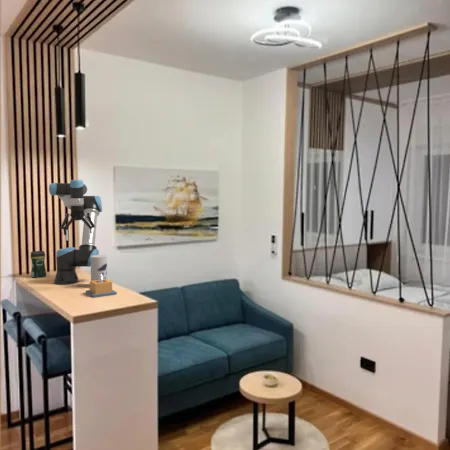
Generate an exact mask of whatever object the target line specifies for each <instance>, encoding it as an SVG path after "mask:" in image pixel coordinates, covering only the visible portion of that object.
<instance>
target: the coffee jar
mask: <svg viewBox="0 0 450 450" xmlns="http://www.w3.org/2000/svg"><path fill="white" fill-rule="evenodd" d="M45 252H46V251H44V250H37V251H36V250H35V251H31V252H30V259H31V272H30V273H31V274H30V275H31V278H44V277H47V272H46V271H47V270H46V264H45V259H46V253H45Z"/></svg>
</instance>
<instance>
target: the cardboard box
mask: <svg viewBox="0 0 450 450" xmlns="http://www.w3.org/2000/svg"><path fill="white" fill-rule="evenodd" d="M103 281H104V282H102V283H98V280H94V281H91V280H90V281H89V290H90V291H91V292H93V293H95V294H100V293H107V292H112V290H113V281H111V280H109V279H108V278H107V279H103Z"/></svg>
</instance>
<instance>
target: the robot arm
mask: <svg viewBox="0 0 450 450" xmlns="http://www.w3.org/2000/svg"><path fill="white" fill-rule="evenodd" d="M87 191H88V186H87V185H86V184H84V180H82V179H71V180H70V182H69V183H67V182H66V183H65V182H64V183H63V182H51V183H50V184H49V186H48V193H49V194H50V196H57V197H58V198H59V199H60V200H61V201H62V202H63V205H64V206H65V207H66V208H68V209H69V210H70V213H68V212H67V213H65V215H64V216H65V217H64V219H63V221H62V223H61V225H60V229H62V230H63V235H64V236H65V241H67V242H68V241H69V229H68V228H69V226H70V225H72V223H73V222H74V221H82V222H83V225H82V229H83V230H82V235H81V237H82V238H81V244H80V245H79V246H78V249H75V247H73V246H71V247H64V248H63V247H62V248H60V249H57V251H56V256H55V258H56V272H55V273H56V274H55V276H54V284H55V285H72V284H73V285H74V284H77V283H79V277H78V273H77V271H76V268H79V267H81V268H83V267H88V268H91V256H93V255H100V252H99V250H100V249H97V248H98V247H97V246H96V236H97V235H96V234H97V222H98V216H99V215H100V213H103V205H102V204H103V203H102V198H101V196H99V195H85V194H86V193H87ZM69 218H70V219H69ZM68 219H69V221H68ZM67 221H68V222H67Z"/></svg>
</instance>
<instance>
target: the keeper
mask: <svg viewBox="0 0 450 450" xmlns="http://www.w3.org/2000/svg"><path fill="white" fill-rule="evenodd" d="M102 282H104V281H103V275H102V274H99V275H98V283H102ZM85 294H87V295H88V296H90V297H91V298H93V299H95V298H102V297H108V296H115V295H117V294H118V293H117V291H116V290H113V289H112V292H107V293H100V294H95V293H93V292H91V291H90V289H89V290H88V289H87V290H85Z"/></svg>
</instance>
